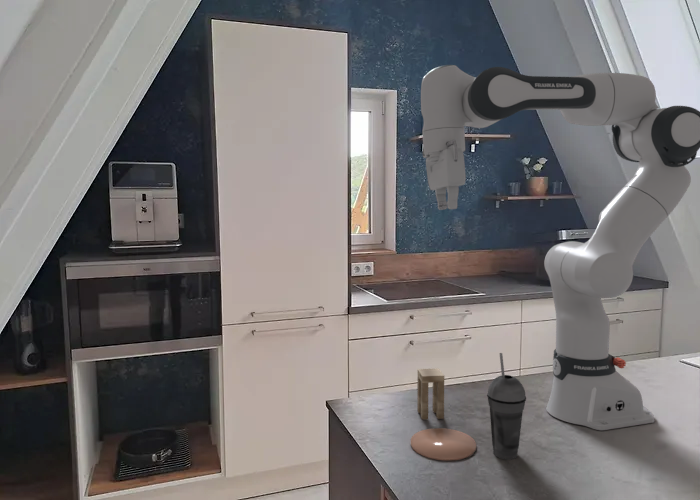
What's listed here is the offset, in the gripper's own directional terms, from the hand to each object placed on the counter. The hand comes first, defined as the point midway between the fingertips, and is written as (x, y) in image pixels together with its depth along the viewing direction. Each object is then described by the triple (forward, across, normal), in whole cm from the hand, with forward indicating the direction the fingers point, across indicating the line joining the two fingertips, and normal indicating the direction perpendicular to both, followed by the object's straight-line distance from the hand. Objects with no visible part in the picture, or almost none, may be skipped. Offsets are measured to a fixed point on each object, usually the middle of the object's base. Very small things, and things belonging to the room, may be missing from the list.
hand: (447, 209), depth 117 cm
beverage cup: (+48, -15, -5) cm, 51 cm away
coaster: (+47, -10, +6) cm, 49 cm away
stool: (+47, +5, +5) cm, 47 cm away
